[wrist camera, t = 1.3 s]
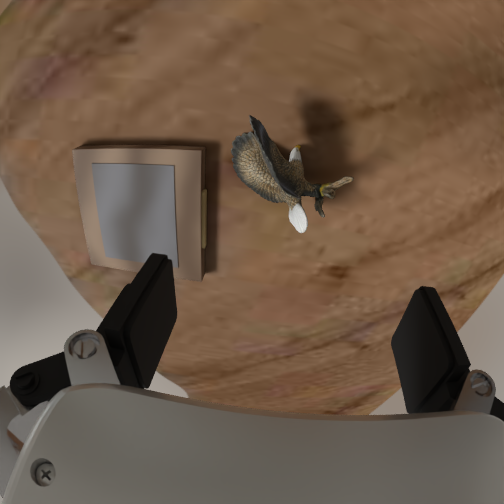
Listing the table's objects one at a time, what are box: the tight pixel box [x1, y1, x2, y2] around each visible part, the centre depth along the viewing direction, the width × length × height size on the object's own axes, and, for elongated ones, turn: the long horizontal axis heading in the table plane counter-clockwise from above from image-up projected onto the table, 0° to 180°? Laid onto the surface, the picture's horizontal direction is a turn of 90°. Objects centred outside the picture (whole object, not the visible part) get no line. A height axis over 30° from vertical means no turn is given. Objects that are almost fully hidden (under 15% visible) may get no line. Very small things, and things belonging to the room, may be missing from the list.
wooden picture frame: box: [72, 145, 207, 282], centre depth 30 cm, size 14×14×2 cm
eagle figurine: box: [231, 115, 354, 233], centre depth 24 cm, size 8×7×9 cm
